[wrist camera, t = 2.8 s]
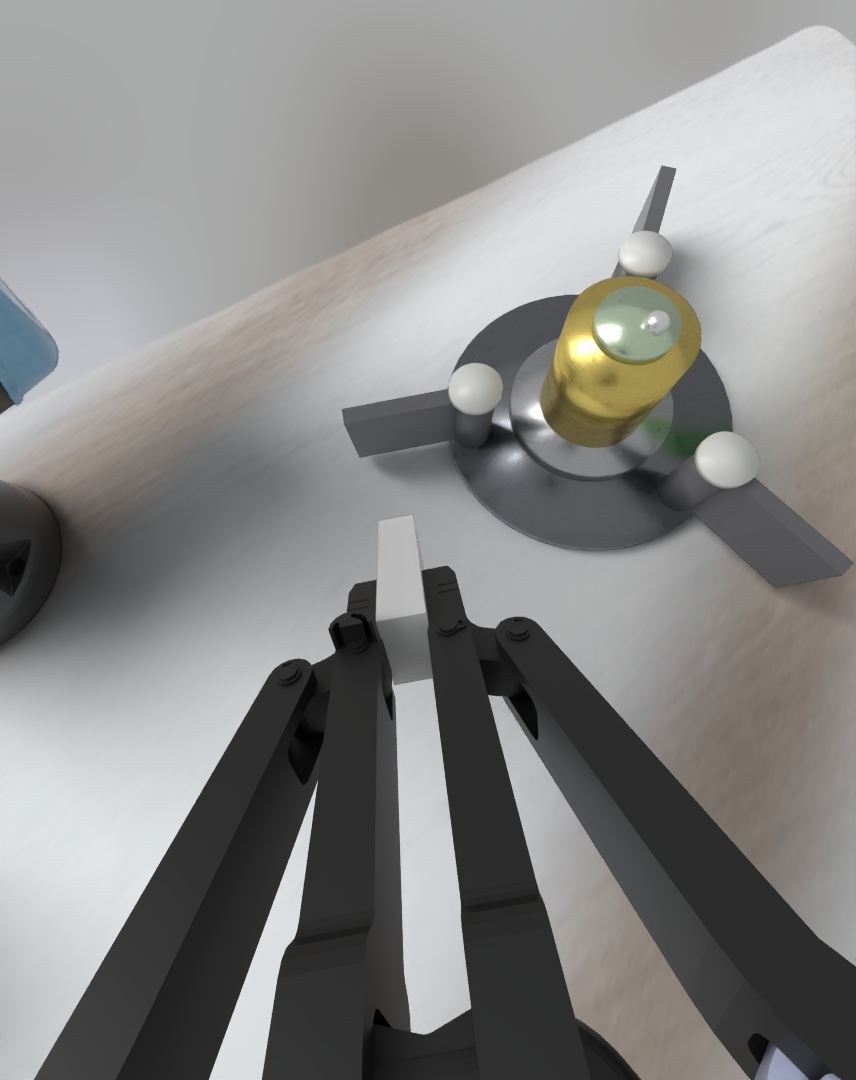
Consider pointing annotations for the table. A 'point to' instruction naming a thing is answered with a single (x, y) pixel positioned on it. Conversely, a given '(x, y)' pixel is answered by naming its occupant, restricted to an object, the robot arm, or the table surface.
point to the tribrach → (592, 413)
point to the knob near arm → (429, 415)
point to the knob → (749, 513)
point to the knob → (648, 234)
